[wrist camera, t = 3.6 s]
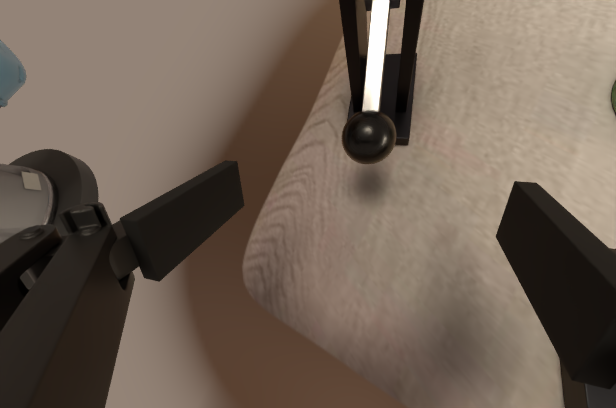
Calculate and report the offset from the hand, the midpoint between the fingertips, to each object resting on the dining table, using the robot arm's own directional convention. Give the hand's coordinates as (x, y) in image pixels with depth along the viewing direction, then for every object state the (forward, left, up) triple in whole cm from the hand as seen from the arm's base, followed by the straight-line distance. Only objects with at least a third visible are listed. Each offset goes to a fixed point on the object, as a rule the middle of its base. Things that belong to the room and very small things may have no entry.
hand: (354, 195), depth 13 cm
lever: (+4, +10, -3) cm, 11 cm away
